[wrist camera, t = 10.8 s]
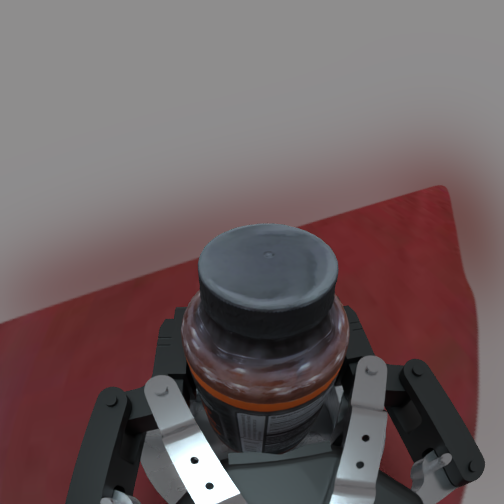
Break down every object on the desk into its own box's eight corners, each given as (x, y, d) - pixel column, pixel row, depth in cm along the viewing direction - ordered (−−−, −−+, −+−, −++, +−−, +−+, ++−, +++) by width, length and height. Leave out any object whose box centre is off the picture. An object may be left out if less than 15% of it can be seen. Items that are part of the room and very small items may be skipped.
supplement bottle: (201, 385, 16) (160, 220, 10) (291, 363, 17) (314, 199, 11) (223, 472, 11) (168, 363, 5) (328, 441, 13) (415, 296, 6)
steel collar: (282, 578, 6) (288, 591, 4) (98, 420, 15) (75, 397, 13) (413, 391, 16) (433, 366, 14) (247, 304, 25) (246, 273, 23)
